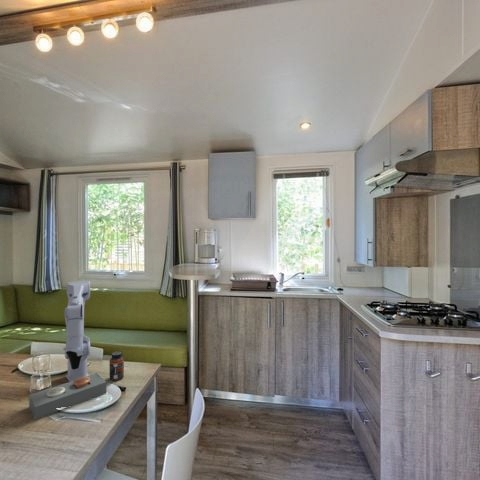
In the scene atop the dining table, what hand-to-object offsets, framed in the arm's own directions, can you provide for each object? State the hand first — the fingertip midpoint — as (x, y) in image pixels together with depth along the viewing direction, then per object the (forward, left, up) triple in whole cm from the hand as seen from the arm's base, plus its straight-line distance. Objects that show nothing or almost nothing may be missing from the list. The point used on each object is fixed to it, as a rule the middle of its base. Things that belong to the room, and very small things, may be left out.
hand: (75, 368), depth 117 cm
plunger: (+3, -7, -10) cm, 13 cm away
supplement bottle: (-1, +17, -11) cm, 20 cm away
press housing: (+3, -3, -10) cm, 11 cm away
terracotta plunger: (+3, +2, -9) cm, 9 cm away
